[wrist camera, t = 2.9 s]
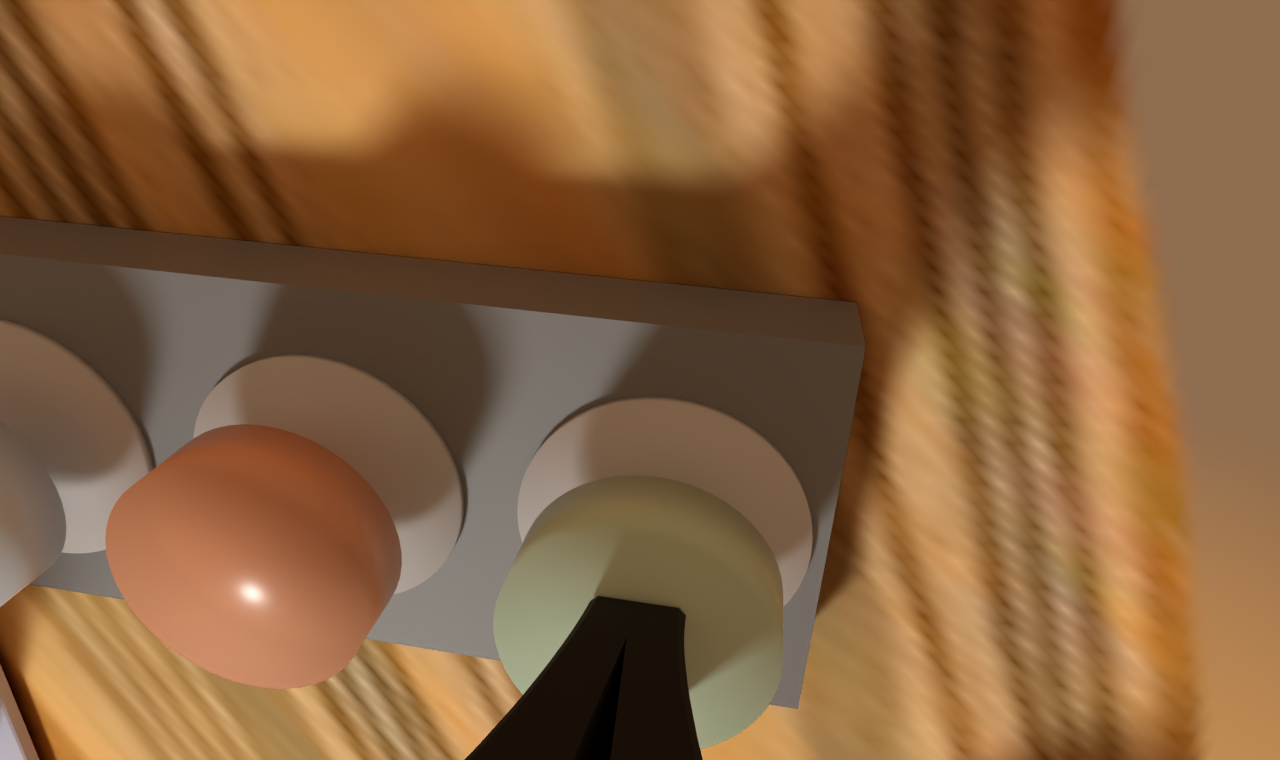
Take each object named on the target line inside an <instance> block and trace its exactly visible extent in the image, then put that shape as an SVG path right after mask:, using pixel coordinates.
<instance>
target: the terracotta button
mask: <svg viewBox="0 0 1280 760" xmlns="http://www.w3.org/2000/svg"><path fill="white" fill-rule="evenodd" d="M105 543H106V554H107V558H108V562H109V567H110V570H111V572H112V575H113V578H114V580H115V582H116V584H117V586H118V588H119V590H120V592H121V594H122V596H123V597H124V599H125V600H126V602H127V603H128V605H129V606H130V608H131V609H132V610H133V612H134V613H135V614H136V615H137V617H138V618H139V619H140V620H141V622H142V623H143V624H144V625H145V626H146V627H147V628H148V629H149V630H150V631H151V632H152V633H153V634H154V635H155V636H157V637H158V638H159V639H160V640H161V641H162V642H163V643H165V644H166V645H167V646H168V647H170V648H171V649H172V650H174V651H175V652H177V653H178V654H179V655H181V656H182V657H184V658H186V659H187V660H189V661H190V662H192V663H194V664H195V665H197V666H199V667H201V668H203V669H205V670H207V671H209V672H211V673H214V674H216V675H219V676H221V677H223V678H226V679H229V680H232V681H236V682H239V683H242V684H247V685H251V686H256V687H263V688H272V689H290V688H300V687H305V686H309V685H314V684H317V683H319V682H322V681H324V680H327V679H329V678H330V677H332V676H334V675H335V674H337V673H338V672H340V671H341V670H342V669H343V668H344V667H345V666H347V664H348V663H349V662H350V661H351V659H352V658H353V657H354V656H355V654H356V652H357V651H358V649H359V648H360V646H361V645H362V643H363V642H364V640H365V638H366V637H367V635H368V634H369V632H370V631H371V629H372V628H373V626H374V624H375V623H376V621H377V620H378V618H379V617H380V615H381V614H382V612H383V610H384V609H385V607H386V606H387V604H388V603H389V601H390V600H391V598H392V596H393V594H394V592H395V590H396V589H397V585H398V582H399V579H400V575H401V568H402V552H401V546H400V540H399V536H398V533H397V530H396V527H395V524H394V522H393V520H392V518H391V516H390V514H389V512H388V510H387V508H386V506H385V505H384V503H383V502H382V500H381V499H380V497H379V496H378V494H377V493H376V492H375V491H374V489H373V488H372V487H371V485H370V484H369V483H368V482H367V481H366V480H365V479H364V478H363V477H362V476H361V475H360V474H359V473H358V472H357V471H356V470H355V469H354V468H353V467H351V466H350V465H349V464H348V463H347V462H345V461H344V460H343V459H342V458H340V457H339V456H337V455H336V454H334V453H333V452H331V451H330V450H328V449H327V448H325V447H323V446H321V445H319V444H318V443H316V442H314V441H312V440H310V439H307V438H305V437H303V436H300V435H298V434H296V433H292V432H289V431H286V430H283V429H279V428H274V427H269V426H264V425H252V424H239V425H228V426H223V427H218V428H215V429H212V430H209V431H207V432H204V433H202V434H200V435H199V436H197V437H195V438H193V439H192V440H191V441H189V442H188V443H187V444H185V445H184V446H183V447H182V448H180V449H179V450H178V451H176V452H175V453H174V454H172V455H171V456H170V457H169V458H167V459H166V460H165V461H163V462H162V463H161V464H159V465H158V466H157V467H156V468H154V469H153V470H152V471H150V472H149V473H148V474H146V475H145V476H144V477H143V478H141V479H140V480H139V481H137V482H136V483H135V484H134V485H132V486H131V487H130V488H129V489H128V490H126V491H125V492H124V493H123V494H122V495H121V497H120V498H119V499H118V500H117V502H116V503H115V505H114V507H113V509H112V511H111V513H110V515H109V519H108V522H107V526H106V537H105Z"/></svg>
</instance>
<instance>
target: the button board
mask: <svg viewBox="0 0 1280 760" xmlns="http://www.w3.org/2000/svg"><path fill="white" fill-rule="evenodd" d="M865 350H866V344H865V339H864V335H863V330H862V325H861V321H860V316H859V311H858V307H857V302H847V301H837V300H827V299H818V298H808V297H798V296H788V295H778V294H768V293H758V292H748V291H738V290H728V289H718V288H709V287H699V286H689V285H679V284H669V283H659V282H649V281H639V280H629V279H619V278H609V277H600V276H590V275H580V274H570V273H560V272H550V271H540V270H530V269H520V268H510V267H500V266H491V265H481V264H471V263H461V262H451V261H441V260H431V259H421V258H411V257H401V256H391V255H382V254H372V253H362V252H352V251H342V250H332V249H322V248H312V247H302V246H292V245H282V244H273V243H263V242H253V241H243V240H233V239H223V238H213V237H203V236H193V235H183V234H173V233H164V232H154V231H144V230H134V229H124V228H114V227H104V226H94V225H84V224H74V223H64V222H55V221H45V220H35V219H25V218H15V217H5V216H0V420H1V421H3V422H4V423H5V424H6V425H7V426H8V427H10V428H11V429H12V430H13V431H14V432H15V433H16V434H17V435H18V436H19V437H20V438H21V439H22V440H23V441H24V442H25V443H26V444H27V445H28V446H29V447H30V449H31V450H32V451H33V452H34V454H35V455H36V456H37V457H38V459H39V460H40V461H41V463H42V464H43V466H44V467H45V469H46V470H47V472H48V473H49V475H50V477H51V479H52V481H53V483H54V484H55V486H56V488H57V491H58V493H59V496H60V498H61V501H62V505H63V508H64V512H65V518H66V539H65V543H64V548H63V550H62V552H61V554H60V556H59V558H58V559H57V560H56V562H55V563H54V564H53V565H52V566H51V567H50V568H49V569H47V570H46V571H45V572H44V573H42V574H41V575H40V576H39V577H37V578H36V579H35V580H34V581H32V582H31V583H30V584H31V585H37V586H44V587H50V588H56V589H62V590H68V591H74V592H81V593H87V594H93V595H99V596H105V597H111V598H118V599H124V597H123V596H122V594H121V592H120V590H119V588H118V586H117V584H116V582H115V580H114V578H113V575H112V572H111V570H110V567H109V562H108V558H107V554H106V543H105V537H106V526H107V522H108V519H109V515H110V513H111V511H112V509H113V507H114V505H115V503H116V502H117V500H118V499H119V498H120V497H121V495H122V494H123V493H124V492H125V491H126V490H128V489H129V488H130V487H131V486H132V485H134V484H135V483H136V482H137V481H139V480H140V479H141V478H143V477H144V476H145V475H146V474H148V473H149V472H150V471H152V470H153V469H154V468H156V467H157V466H158V465H159V464H161V463H162V462H163V461H165V460H166V459H167V458H169V457H170V456H171V455H172V454H174V453H175V452H176V451H178V450H179V449H180V448H182V447H183V446H184V445H185V444H187V443H188V442H189V441H191V440H192V439H193V438H195V437H197V436H199V435H200V434H202V433H204V432H207V431H209V430H212V429H215V428H218V427H223V426H228V425H239V424H252V425H264V426H269V427H274V428H279V429H283V430H286V431H289V432H292V433H296V434H298V435H300V436H303V437H305V438H307V439H310V440H312V441H314V442H316V443H318V444H319V445H321V446H323V447H325V448H327V449H328V450H330V451H331V452H333V453H334V454H336V455H337V456H339V457H340V458H342V459H343V460H344V461H345V462H347V463H348V464H349V465H350V466H351V467H353V468H354V469H355V470H356V471H357V472H358V473H359V474H360V475H361V476H362V477H363V478H364V479H365V480H366V481H367V482H368V483H369V484H370V485H371V487H372V488H373V489H374V491H375V492H376V493H377V494H378V496H379V497H380V499H381V500H382V502H383V503H384V505H385V506H386V508H387V510H388V512H389V514H390V516H391V518H392V520H393V522H394V524H395V527H396V530H397V533H398V536H399V540H400V546H401V552H402V568H401V575H400V579H399V582H398V585H397V589H396V590H395V592H394V594H393V596H392V598H391V600H390V601H389V603H388V604H387V606H386V607H385V609H384V610H383V612H382V614H381V615H380V617H379V618H378V620H377V621H376V623H375V624H374V626H373V628H372V629H371V631H370V632H369V634H368V635H367V637H366V638H365V639H370V640H376V641H382V642H389V643H395V644H401V645H407V646H413V647H419V648H425V649H432V650H438V651H444V652H450V653H456V654H462V655H469V656H475V657H481V658H487V659H493V660H499V661H501V659H500V657H499V654H498V651H497V647H496V644H495V638H494V630H493V620H494V610H495V606H496V601H497V598H498V596H499V593H500V591H501V588H502V586H503V584H504V582H505V579H506V577H507V575H508V573H509V571H510V569H511V567H512V565H513V563H514V560H515V558H516V556H517V554H518V552H519V550H520V548H521V546H522V543H523V541H524V539H525V537H526V535H527V533H528V531H529V529H530V527H531V526H532V524H533V523H534V521H535V519H536V518H537V517H538V516H539V515H540V513H541V512H542V511H543V510H544V509H545V508H546V507H547V506H548V505H549V504H551V503H552V502H553V501H554V500H555V499H557V498H558V497H560V496H561V495H563V494H565V493H566V492H568V491H569V490H571V489H574V488H576V487H578V486H581V485H583V484H585V483H588V482H592V481H595V480H599V479H603V478H609V477H616V476H630V475H641V476H655V477H661V478H666V479H672V480H676V481H679V482H683V483H686V484H689V485H692V486H695V487H697V488H699V489H702V490H704V491H706V492H709V493H711V494H713V495H714V496H716V497H718V498H720V499H721V500H723V501H725V502H726V503H728V504H729V505H731V506H732V507H733V508H735V509H736V510H737V511H739V512H740V513H741V514H742V515H743V516H744V517H745V518H747V519H748V520H749V521H750V522H751V523H752V524H753V525H754V526H755V528H756V529H757V530H758V531H759V532H760V534H761V535H762V536H763V537H764V539H765V540H766V542H767V544H768V545H769V547H770V549H771V550H772V552H773V554H774V557H775V559H776V561H777V564H778V566H779V570H780V574H781V578H782V585H783V664H782V674H781V678H780V682H779V685H778V688H777V690H776V693H775V695H774V697H773V699H772V701H771V702H770V705H777V706H783V707H789V708H795V709H798V705H799V700H800V694H801V689H802V684H803V678H804V673H805V668H806V662H807V657H808V652H809V647H810V641H811V636H812V631H813V625H814V620H815V615H816V610H817V604H818V599H819V594H820V588H821V583H822V578H823V573H824V567H825V562H826V557H827V551H828V546H829V541H830V535H831V530H832V525H833V520H834V514H835V509H836V504H837V498H838V493H839V488H840V483H841V477H842V472H843V467H844V461H845V456H846V451H847V445H848V440H849V435H850V430H851V424H852V419H853V414H854V408H855V403H856V398H857V393H858V387H859V382H860V377H861V371H862V366H863V361H864V356H865ZM124 600H125V599H124Z"/></svg>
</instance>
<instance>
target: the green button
mask: <svg viewBox="0 0 1280 760" xmlns="http://www.w3.org/2000/svg"><path fill="white" fill-rule="evenodd" d="M597 596H603V597H610V598H616V599H623V600H630V601H636V602H643V603H649V604H656V605H663V606H669V607H676V608H680V609H681V611H682V612H683V613H684V614H685V615H686V621H685V631H684V651H685V664H686V674H687V683H688V689H689V696H690V702H691V707H692V712H693V717H694V723H695V728H696V733H697V738H698V742H699V747H700V749H702V748H706V747H709V746H713V745H715V744H718V743H720V742H723V741H725V740H728V739H729V738H731V737H733V736H735V735H737V734H738V733H740V732H742V731H743V730H744V729H746V728H747V727H748V726H750V725H751V724H752V723H753V722H754V721H755V720H756V719H757V718H758V717H759V716H760V715H761V714H762V713H763V712H764V711H765V709H766V708H767V707H768V705H769V704H770V702H771V701H772V699H773V697H774V695H775V693H776V690H777V688H778V685H779V682H780V678H781V674H782V664H783V585H782V578H781V574H780V570H779V566H778V564H777V561H776V559H775V557H774V554H773V552H772V550H771V549H770V547H769V545H768V544H767V542H766V540H765V539H764V537H763V536H762V535H761V534H760V532H759V531H758V530H757V529H756V528H755V526H754V525H753V524H752V523H751V522H750V521H749V520H748V519H747V518H745V517H744V516H743V515H742V514H741V513H740V512H739V511H737V510H736V509H735V508H733V507H732V506H731V505H729V504H728V503H726V502H725V501H723V500H721V499H720V498H718V497H716V496H714V495H713V494H711V493H709V492H706V491H704V490H702V489H699V488H697V487H695V486H692V485H689V484H686V483H683V482H679V481H676V480H672V479H666V478H661V477H655V476H641V475H630V476H616V477H609V478H603V479H599V480H595V481H592V482H588V483H585V484H583V485H581V486H578V487H576V488H574V489H571V490H569V491H568V492H566V493H565V494H563V495H561V496H560V497H558V498H557V499H555V500H554V501H553V502H552V503H551V504H549V505H548V506H547V507H546V508H545V509H544V510H543V511H542V512H541V513H540V515H539V516H538V517H537V518H536V519H535V521H534V523H533V524H532V526H531V527H530V529H529V531H528V533H527V535H526V537H525V539H524V541H523V543H522V546H521V548H520V550H519V552H518V554H517V556H516V558H515V560H514V563H513V565H512V567H511V569H510V571H509V573H508V575H507V577H506V579H505V582H504V584H503V586H502V588H501V591H500V593H499V596H498V598H497V601H496V606H495V610H494V620H493V630H494V638H495V644H496V647H497V651H498V654H499V657H500V659H501V662H502V664H503V666H504V668H505V670H506V672H507V674H508V675H509V677H510V678H511V680H512V682H513V683H514V684H515V686H516V687H517V688H518V689H519V691H520V692H521V693H522V694H524V693H525V692H526V691H527V689H528V688H529V687H530V686H531V684H532V683H533V682H534V681H535V679H536V678H537V677H538V676H539V674H540V673H541V672H542V671H543V669H544V668H545V667H546V666H547V664H548V663H549V662H550V660H551V659H552V658H553V656H554V655H555V654H556V652H557V651H558V649H559V648H560V647H561V645H562V644H563V643H564V641H565V640H566V638H567V637H568V635H569V634H570V633H571V631H572V630H573V628H574V627H575V625H576V624H577V622H578V620H579V619H580V617H581V616H582V614H583V613H584V611H585V609H586V608H587V606H588V604H589V602H590V601H591V600H592V599H594V598H595V597H597Z"/></svg>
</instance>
